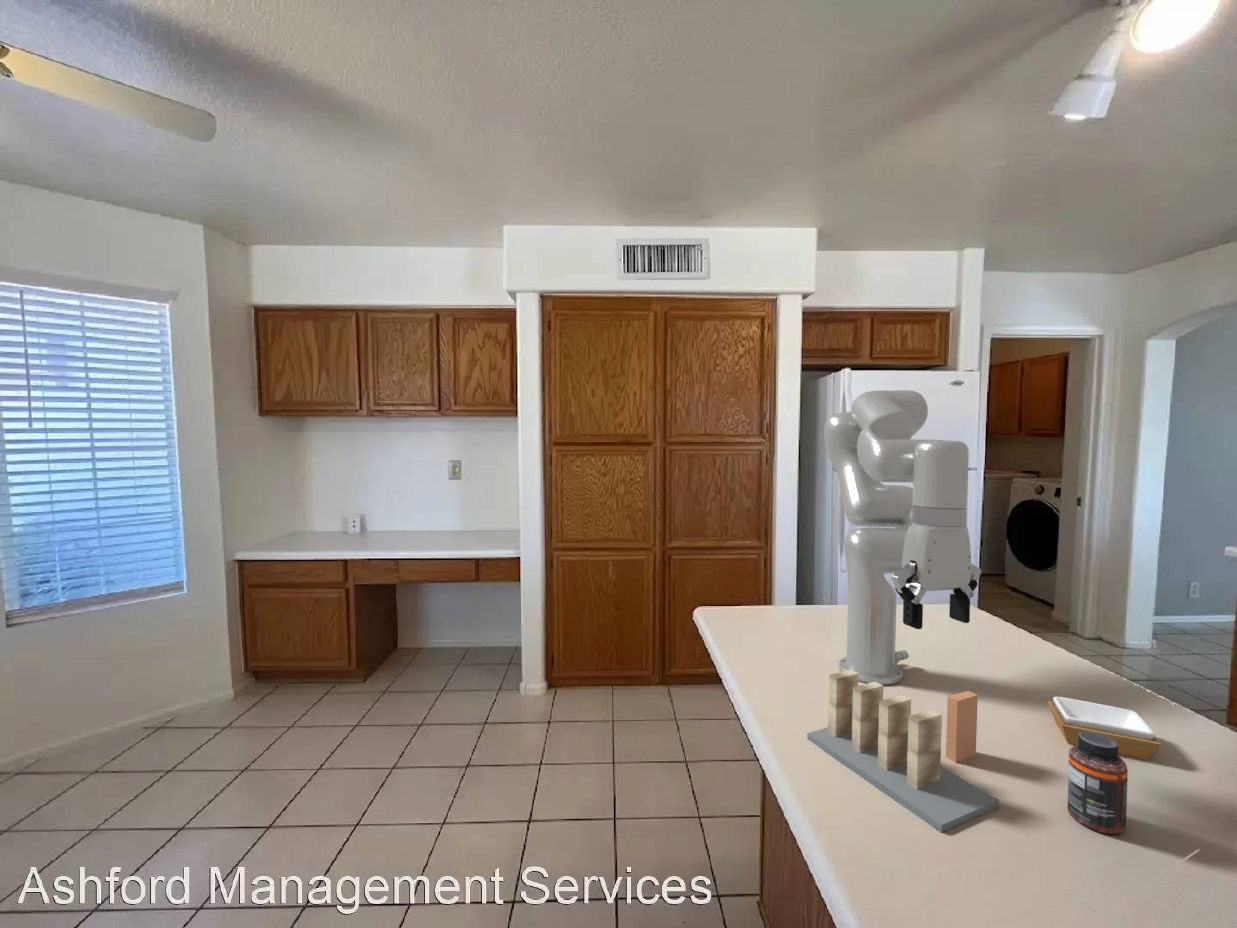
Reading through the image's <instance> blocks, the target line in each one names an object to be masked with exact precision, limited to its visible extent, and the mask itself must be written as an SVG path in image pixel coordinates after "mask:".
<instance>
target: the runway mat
mask: <svg viewBox="0 0 1237 928" xmlns="http://www.w3.org/2000/svg"><path fill="white" fill-rule="evenodd" d="M806 738H807V740H808V741H810V742H811V743H813V744H814V745H815V746H817V747H818V748H819V749H821V750H823V751H824V752H826V753H827V755H830V756H831V757H833V758H834V759H836V761H838V762H840V763H842V764H843V765H844V766H846V767H847V768H848V769H850V770H851V771H852V772H854V773H855V774H857V775H858V776H860V777H861V778H862V779H864V780H865V781H867V782H869V783H870V784H871V785H873V786H874V787H875V788H877V789H878V790H880V791H882V793H884V794H886V796H888V797H890V798H891V799H893V800H894V801H896V802H897V803H899V804H900V805H902V806H903V808H906V809H907V810H909V811H910V812H911V813H913V814H914V815H916V816H917V817H918V818H920V819H921V820H923V821H924V822H926V823H927V824H929V825H930V826H931V827H933V828H934V829H935V830H936V831H939V833H943V832H946V831H948V830H950V829H952V828H955V827H956V826H959V825H961V824H963V823H965V822H969V821H971V820H972V819H975V818H977V817H979V816H981V815H984V814H986V813H988V812H990V811H992V810H995V809H997V808H999V807H1000V799H998V798H997V797H995V796H993V795H991V794H990V793H988V792H987V791H985V790H983V789H981V788H979V787H978V786H976V785H975V784H973V783H971V782H969V781H968V780H966V779H964V778H962V777H960V775H957V774H956V773H954V772H952V771H951V770H948V769H947V768H945V767H943V766H942V765H940V781H938V782H935V783H933V784H930V785H927V786H925V787H922V788H920V789H917V790H916V789H915V788H913V787H912V786H910V785H909V784H907V763H905V764H902V765H900V766H897V767H894V768H891V769H888V770H886V769H884V768H883V767H881V766H880V765H878V747H875V748H872V749H869V750H866V751H863V752H858V751H856V750H855V749H853V748H852V732H850V733H847V734H843V735H840V736H837V737H835V736H833V735H832V734H830V733H829V732H828V727H824V728H821V729H817V730H814V731H813V730H812V731H810V732H807V736H806Z"/></svg>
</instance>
